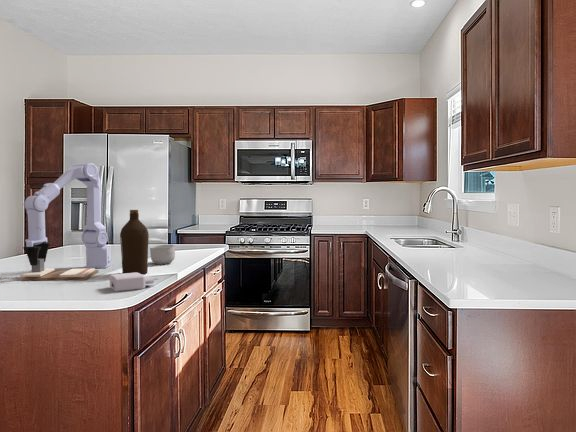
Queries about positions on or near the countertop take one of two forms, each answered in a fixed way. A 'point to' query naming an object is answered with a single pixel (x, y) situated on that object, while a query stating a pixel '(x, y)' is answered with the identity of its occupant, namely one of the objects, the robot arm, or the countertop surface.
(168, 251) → the teacup
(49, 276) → the board
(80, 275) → the ticket
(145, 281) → the charger
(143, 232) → the olive oil
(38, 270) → the stub
